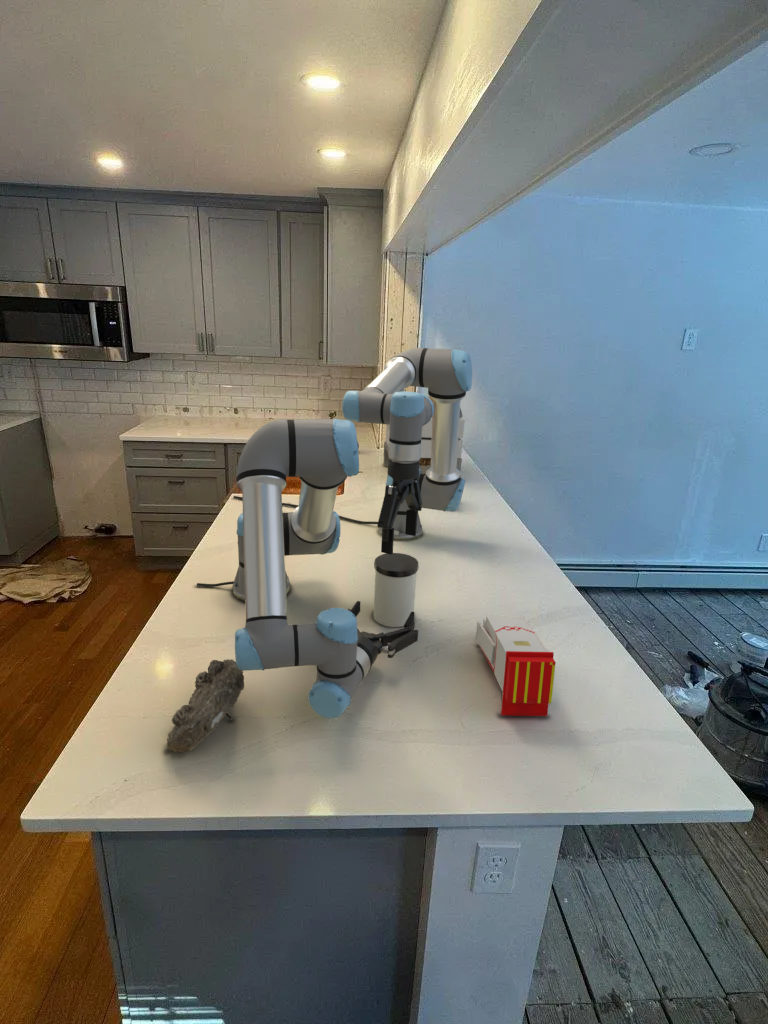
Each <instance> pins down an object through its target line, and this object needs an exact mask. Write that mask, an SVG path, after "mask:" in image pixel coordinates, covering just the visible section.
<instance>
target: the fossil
mask: <svg viewBox="0 0 768 1024" xmlns="http://www.w3.org/2000/svg"><path fill="white" fill-rule="evenodd" d="M194 684H195V685H194V687H195V689H194V690H193V693H192V694H191V697H190V698H189V700H188V704H184V705H182V706H181V707H180V709H177V710H176V711H175V713H174V715H173V716H172V718H171V723H172V724H173V727H172V730H171V731H170V732H168V734H167V738H166V741H167V742H166V745H167V749H168V750H169V751H173V752H174V753H176V754H178V753H182V752H188V751H189V752H192V751H193V750H195V748H196V747H197V746H199V744H200V743H201V742H203V741H204V740H205V739H206V738H207V737H208V736H209V735H210V734H211V733H212V732H214V730H215V729H217V727H218V726H219V724H220V722H221V721H222V720H223V719H224V718H225V716H226V717H227V719H229V720H233V717H232V715H230V714H229V710H230V709H231V708H234V706H235V704H236V703H237V702H238V699H239V697H240V695H241V693H242V691H243V690H245V689H244V688H245V675H244V671H242V670H240V669H239V668H238V667H237V665H236V660H234V659H232V658H231V659H227V658H226V659H224V660H223V661H222V660H217V659H212V660H211V661H210V663H209V665H208V666H207V671H201V672H199V673H198V674H197V675H196V676H195V680H194Z"/></svg>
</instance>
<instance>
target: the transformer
mask: <svg viewBox="0 0 768 1024" xmlns="http://www.w3.org/2000/svg"><path fill="white" fill-rule="evenodd" d="M402 391H407V390H406V389H402V390H401V391H400V392H402ZM427 397H428V398H430V399H431V401H432V403H433V399H432V398H431V397H430V396H427ZM464 429H465V419H464V418H463V411H462V408H461V407H460V417H459V434H458V450H457V467H456V468H457V469H458V470H459V471H460V473H461V472H462V461H463V460H462V453H463V442H464V441H463V440H462V439H463V438H464V431H465V430H464ZM389 431H390V425H386V428H385V438H384V442H383V466H384V467H387V468H388V460H389V459H390V458H389V457H388V454H389V447H388V443H389ZM431 439H432V418H431V420H430V421H429V422H428V423H427V424H426V425H424V426H422V437H421V458H420V459H419V460H418V461H419V462H420V467H431ZM461 474H462V473H461Z"/></svg>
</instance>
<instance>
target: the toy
mask: <svg viewBox="0 0 768 1024" xmlns="http://www.w3.org/2000/svg"><path fill="white" fill-rule="evenodd" d="M476 622H477V623H476V631H475V640H476V642H477V644H478V646H479V648H480V650H481V652H482V653H483V656H484V658H485V659H486V661H487V663H488V664H489V666H490V668H491V670H492V672H493V673H494V677H495V679H496V681H497V683H498V686H499V688H500V690H501V692H502V696H501V697H502V698H501V710H500V715H501V716H514V717H515V716H517V717H518V716H520V717H523V716H524V717H548V712H549V704H552V700H553V692H554V681H555V672H556V664H557V663H556V661H555V659H554V654H555V653H554V651H548V649H547V648H546V646H545V645H544V644H543V642H542V641H541V639H540V638H539V636H538V635H537V634H536V632H535V630H534V629H533V627H532V626H531V624H530V622H529V621H528V620H527V619H526V617H525V616H524V615H523V616H522V615H521V616H520V615H486V616H485V617H483V621H482V623H481V621H476Z"/></svg>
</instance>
